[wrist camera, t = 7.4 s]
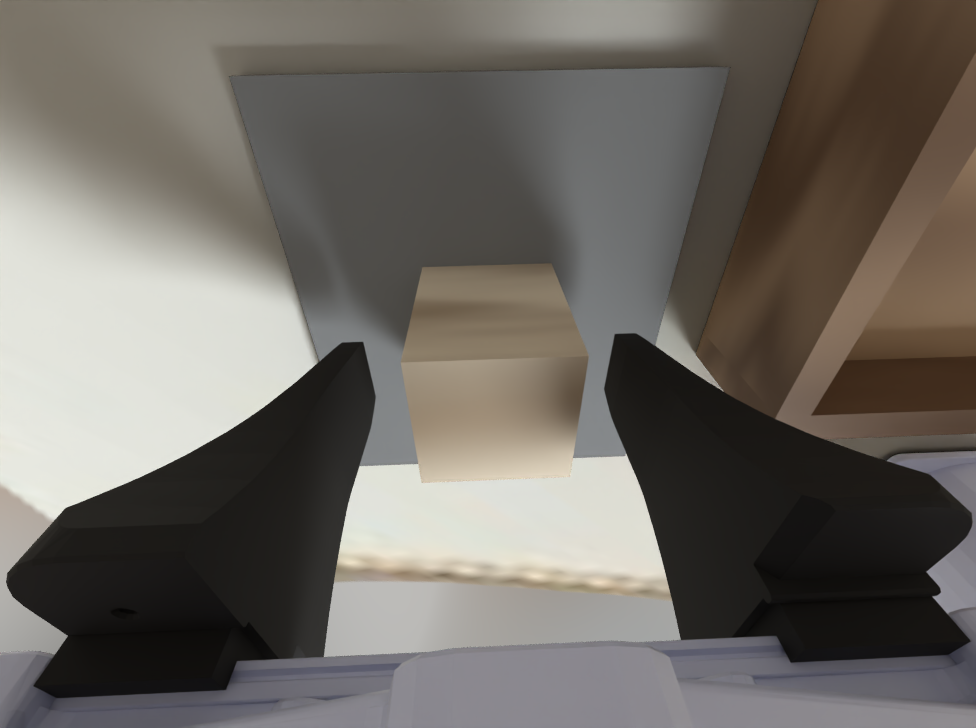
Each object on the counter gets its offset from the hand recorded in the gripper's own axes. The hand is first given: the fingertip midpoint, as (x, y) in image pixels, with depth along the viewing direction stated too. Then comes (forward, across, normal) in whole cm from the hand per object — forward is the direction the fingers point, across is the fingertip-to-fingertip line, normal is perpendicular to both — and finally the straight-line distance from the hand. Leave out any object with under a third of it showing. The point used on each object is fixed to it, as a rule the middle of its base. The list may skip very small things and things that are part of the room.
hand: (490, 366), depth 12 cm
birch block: (+2, 0, 0) cm, 2 cm away
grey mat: (+3, 0, 0) cm, 3 cm away
